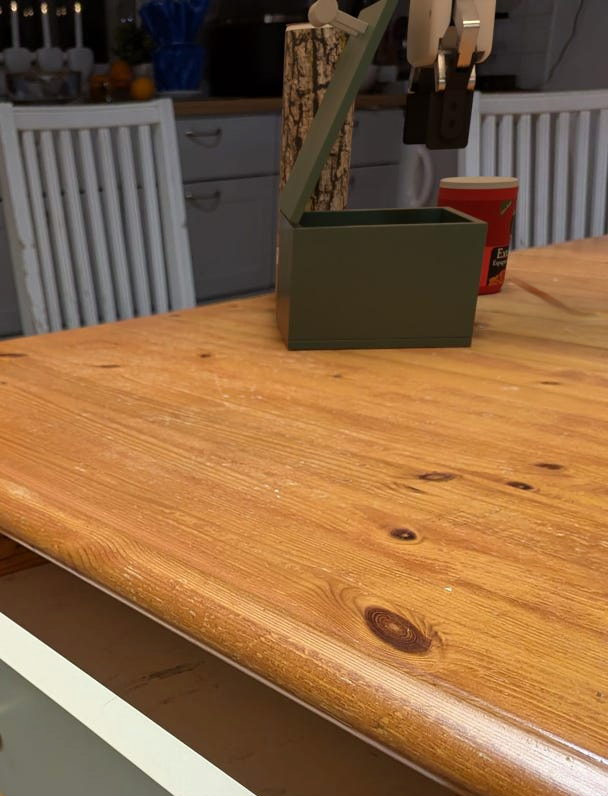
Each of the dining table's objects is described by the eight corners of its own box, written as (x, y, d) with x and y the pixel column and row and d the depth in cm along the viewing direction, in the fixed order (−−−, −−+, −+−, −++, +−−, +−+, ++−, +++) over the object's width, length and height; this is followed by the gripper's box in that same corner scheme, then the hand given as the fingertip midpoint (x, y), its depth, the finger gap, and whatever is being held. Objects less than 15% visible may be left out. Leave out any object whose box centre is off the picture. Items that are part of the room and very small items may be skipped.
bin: (435, 315, 94) (449, 206, 89) (471, 346, 82) (488, 223, 77) (275, 319, 95) (280, 211, 90) (287, 350, 83) (293, 228, 78)
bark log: (333, 311, 97) (354, 19, 85) (267, 309, 99) (278, 23, 87) (344, 299, 103) (365, 23, 90) (282, 297, 105) (294, 27, 92)
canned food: (503, 296, 101) (520, 181, 96) (424, 294, 104) (437, 182, 98) (503, 284, 108) (519, 175, 102) (429, 282, 110) (441, 176, 105)
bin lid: (369, 14, 82) (314, -13, 81) (398, 0, 70) (335, -31, 70) (284, 208, 90) (233, 185, 89) (298, 224, 78) (240, 198, 77)
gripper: (546, -136, 65) (507, 149, 73) (479, -91, 80) (453, 140, 88) (433, -128, 65) (407, 153, 73) (388, -86, 80) (371, 144, 89)
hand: (432, 146), depth 81 cm, fingers open, 9 cm apart
